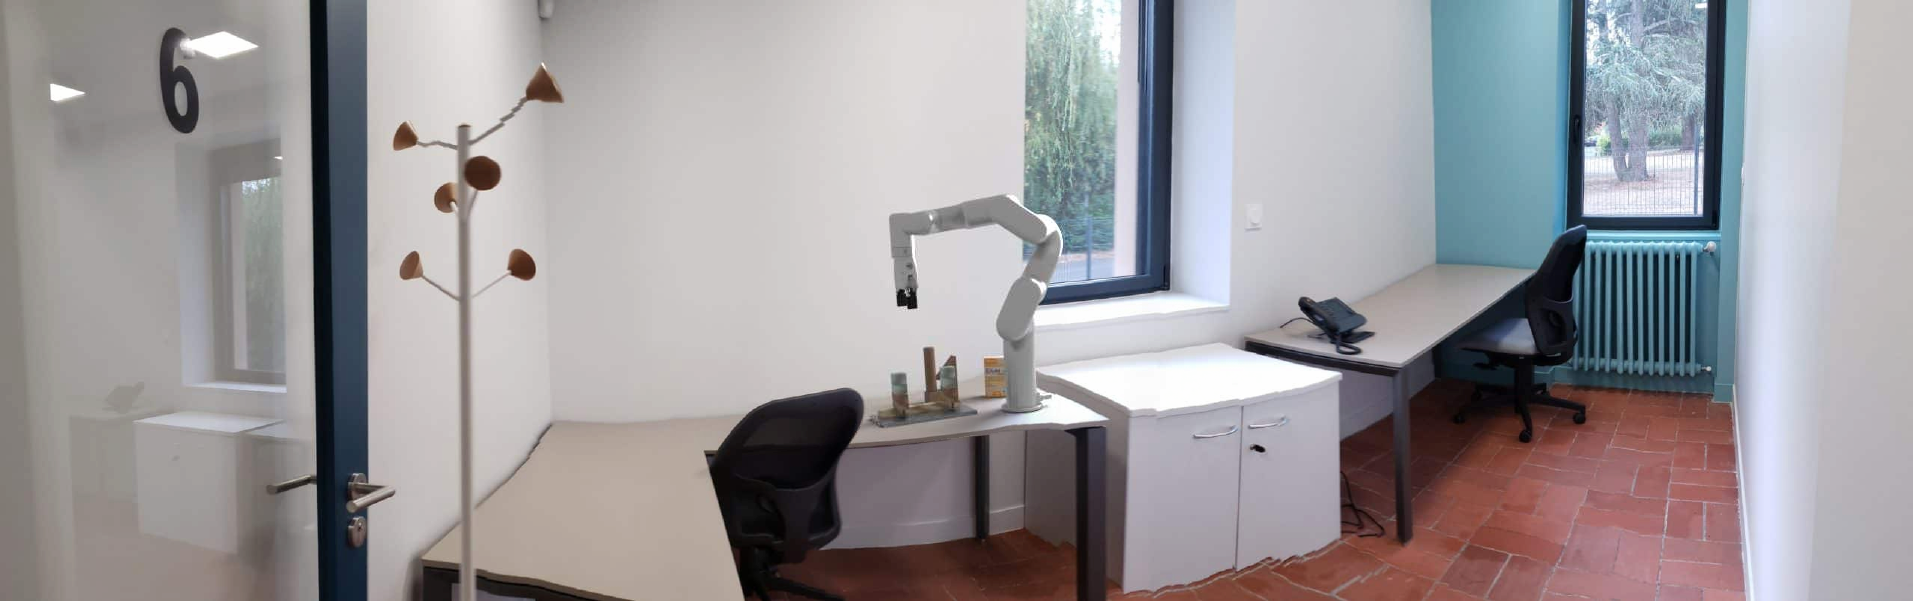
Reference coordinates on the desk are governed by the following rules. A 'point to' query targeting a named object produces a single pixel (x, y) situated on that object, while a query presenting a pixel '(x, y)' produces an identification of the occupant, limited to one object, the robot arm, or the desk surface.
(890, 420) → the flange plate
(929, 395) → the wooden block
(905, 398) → the sliding leg
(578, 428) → the desk surface
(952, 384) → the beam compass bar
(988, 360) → the supplement box
